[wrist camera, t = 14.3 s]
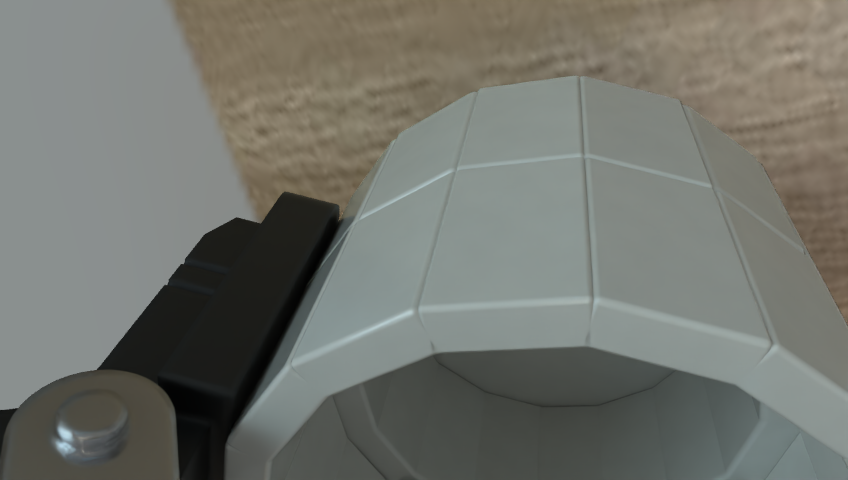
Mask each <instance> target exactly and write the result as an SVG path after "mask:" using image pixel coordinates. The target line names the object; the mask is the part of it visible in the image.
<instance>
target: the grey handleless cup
mask: <svg viewBox="0 0 848 480" xmlns="http://www.w3.org/2000/svg"><path fill="white" fill-rule="evenodd" d="M223 480H848V325H847V323H846V321H845V319H844V317H843V315H842V313H841V312H840V310H839V308H838V306H837V304H836V302H835V300H834V298H833V296H832V295H831V293H830V291H829V289H828V287H827V285H826V283H825V281H824V280H823V278H822V276H821V274H820V272H819V270H818V268H817V266H816V265H815V263H814V261H813V259H812V257H811V255H810V253H809V251H808V249H807V248H806V246H805V244H804V242H803V240H802V238H801V236H800V234H799V233H798V231H797V229H796V227H795V225H794V223H793V221H792V219H791V218H790V216H789V214H788V212H787V210H786V208H785V206H784V204H783V202H782V201H781V199H780V197H779V195H778V193H777V191H776V189H775V187H774V186H773V184H772V182H771V180H770V178H769V176H768V174H767V172H766V171H765V169H764V167H763V165H762V164H761V163H760V162H758V161H757V160H756V158H755V156H754V155H752V154H751V153H750V152H748V151H747V150H746V149H744V148H743V147H742V146H741V145H739V144H738V143H737V142H735V141H734V140H733V139H731V138H730V137H729V136H727V135H726V134H725V133H723V132H722V131H721V130H720V129H718V128H717V127H716V126H714V125H713V124H712V123H710V122H709V121H708V120H706V119H705V118H704V117H702V116H701V115H700V114H699V113H697V112H696V111H695V110H693V109H692V108H691V107H689V106H686V105H683V104H682V103H681V101H680V100H679V99H675V98H671V97H667V96H663V95H659V94H655V93H651V92H647V91H643V90H639V89H635V88H631V87H627V86H623V85H619V84H615V83H611V82H607V81H602V80H598V79H594V78H590V77H586V76H581V77H580V78H579V76H569V77H562V78H554V79H547V80H539V81H532V82H524V83H517V84H509V85H502V86H494V87H487V88H481V89H479V90H478V92H476V91H475V92H471V93H469V94H468V95H466V96H464V97H462V98H461V99H459V100H457V101H455V102H454V103H452V104H450V105H448V106H447V107H445V108H443V109H441V110H440V111H438V112H436V113H434V114H433V115H431V116H429V117H427V118H426V119H424V120H422V121H420V122H419V123H417V124H415V125H413V126H411V127H410V128H408V129H406V130H404V131H403V132H401V133H400V134H399V135H398V136H397V138H396V139H395V140H393V141H391V143H390V144H389V145H388V147H387V148H386V150H385V151H384V152H383V154H382V155H381V157H380V158H379V159H378V161H377V162H376V163H375V165H374V166H373V168H372V169H371V170H370V172H369V173H368V175H367V176H366V177H365V179H364V180H363V182H362V183H361V184H360V186H359V187H358V189H357V190H356V191H355V193H354V194H353V195H352V197H351V199H350V201H349V203H348V205H347V207H346V208H345V210H344V212H343V214H342V216H341V218H340V220H339V222H338V224H337V226H336V228H335V230H334V232H333V234H332V236H331V238H330V240H329V242H328V244H327V245H326V247H325V249H324V251H323V253H322V255H321V257H320V259H319V261H318V263H317V265H316V267H315V269H314V271H313V273H312V275H311V277H310V279H309V281H308V282H307V287H306V288H305V289H304V291H303V292H302V293H301V295H300V297H299V299H298V301H297V303H296V305H295V307H294V309H293V311H292V313H291V315H290V317H289V319H288V321H287V323H286V325H285V326H284V328H283V330H282V332H281V334H280V336H279V338H278V340H277V342H276V344H275V346H274V348H273V350H272V352H271V354H270V356H269V358H268V360H267V361H266V363H265V365H264V367H263V369H262V371H261V373H260V375H259V377H258V379H257V381H256V383H255V385H254V387H253V389H252V391H251V393H250V395H249V396H248V398H247V400H246V402H245V404H244V406H243V408H242V410H241V412H240V414H239V416H238V418H237V420H236V422H235V424H234V426H233V428H232V430H231V431H230V433H229V435H228V439H227V441H226V443H225V452H224V471H223Z"/></svg>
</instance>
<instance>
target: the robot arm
mask: <svg viewBox="0 0 848 480" xmlns="http://www.w3.org/2000/svg"><path fill="white" fill-rule="evenodd" d="M338 221H339V206H338V205H337V204H333V203H329V202H325V201H321V200H317V199H313V198H309V197H306V196H302V195H298V194H294V193H290V192H283V193H282V194H281V196H280V197H279V198H278V200H277V201H276V203H275V204H274V206H273V207H272V209H271V210H270V211H269V213H268V214H267V216H266V217H265V219H264V220H263V222H262V223H261V224H260V223H257V222H253V221H249V220H245V219H241V218H234V219H233V220H231V221H229V222H227V223H225V224H223V225H221V226H219V227H218V228H216V229H214V230H212V231H210V232H208V233H206V234H205V235H204V236H203V237H202V238H201V240H200V241H199V242H198V243H197V245H196V246H195V247H194V248H193V250H192V251H191V252H190V254H189V255H188V256H187V257H186V259H185V263H184V264H181V265H180V266H179V267H178V269H177V270H176V271H175V272H174V274H173V275H172V276H171V278H170V279H169V282H168V285H164V286H163V288H162V289H161V290H160V291H159V293H158V294H157V295H156V296H155V298H154V299H153V300H152V301H151V303H150V304H149V305H148V306H147V308H146V309H145V310H144V311H143V313H142V314H141V315H140V316H139V318H138V319H137V320H136V322H135V323H134V324H133V325H132V327H131V328H130V329H129V330H128V332H127V333H126V334H125V335H124V337H123V338H122V339H121V340H120V342H119V343H118V344H117V345H116V347H115V348H114V349H113V350H112V352H111V353H110V355H109V356H108V357H107V358H106V359H105V361H104V362H103V363H102V365H101V366H100V367H99V368H98V369H97V370H94V371H87V372H81V373H77V374H73V375H70V376H67V377H64V378H61V379H59V380H56V381H54V382H52V383H50V384H48V385H46V386H45V387H42V388H41V389H40V390H38V391H37V392H35V393H34V394H32V395H31V396H30V397H29V398H28V399H27V400H25V401H24V402H23V403H22V404H21V405H20V407H19V408H15V409H9V410H0V480H223V471H224V452H225V443H226V441H227V439H228V435H229V433H230V431H231V430H232V428H233V426H234V424H235V422H236V420H237V418H238V416H239V414H240V412H241V410H242V408H243V406H244V404H245V402H246V400H247V398H248V396H249V395H250V393H251V391H252V389H253V387H254V385H255V383H256V381H257V379H258V377H259V375H260V373H261V371H262V369H263V367H264V365H265V363H266V361H267V360H268V358H269V356H270V354H271V352H272V350H273V348H274V346H275V344H276V342H277V340H278V338H279V336H280V334H281V332H282V330H283V328H284V326H285V325H286V323H287V321H288V319H289V317H290V315H291V313H292V311H293V309H294V307H295V305H296V303H297V301H298V299H299V297H300V295H301V293H302V292H303V291H304V289H305V288H306V287H307V282H308V281H309V279H310V277H311V275H312V273H313V271H314V269H315V267H316V265H317V263H318V261H319V259H320V257H321V255H322V253H323V251H324V249H325V247H326V245H327V244H328V242H329V240H330V238H331V236H332V234H333V232H334V230H335V228H336V226H337V224H338Z"/></svg>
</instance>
